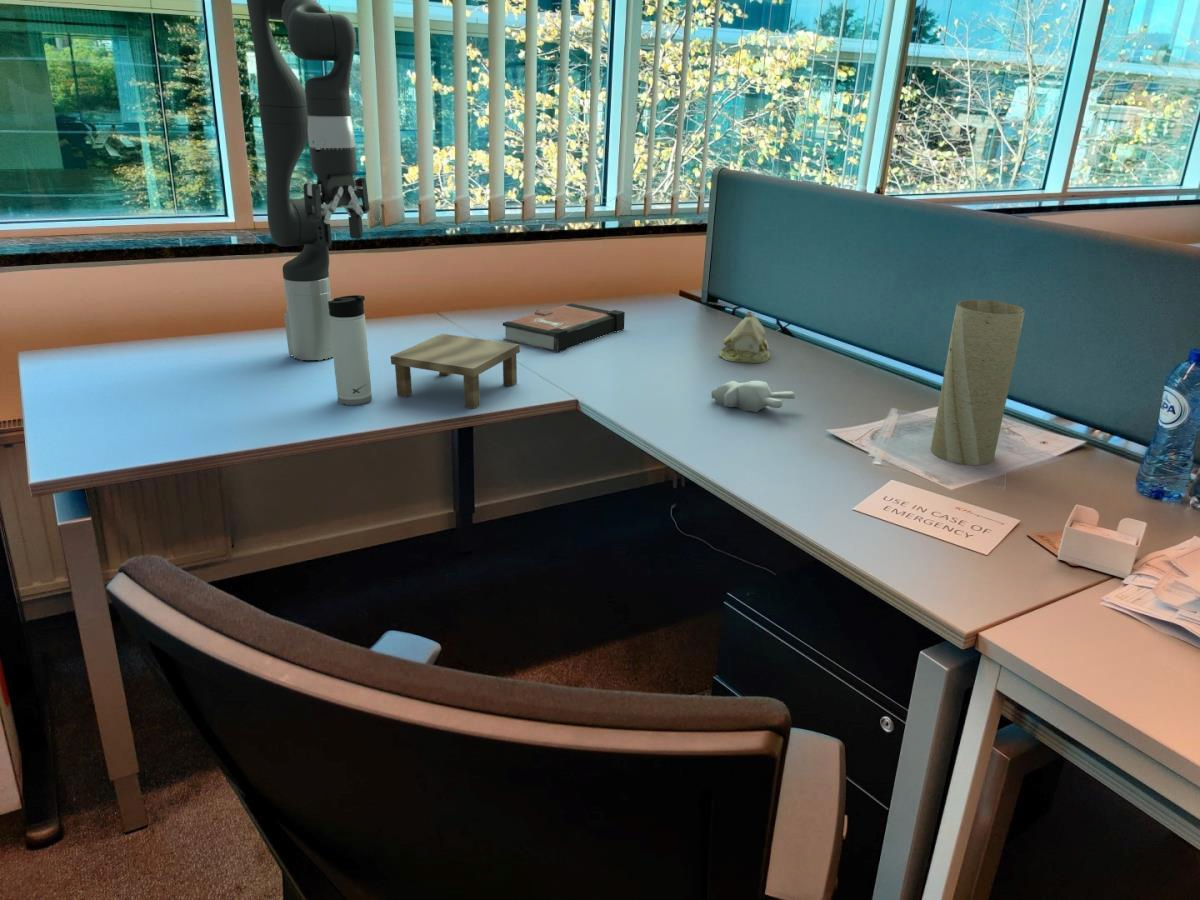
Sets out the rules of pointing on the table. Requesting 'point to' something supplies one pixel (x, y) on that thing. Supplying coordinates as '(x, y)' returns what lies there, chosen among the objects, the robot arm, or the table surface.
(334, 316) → the travel mug
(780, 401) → the bunny figurine
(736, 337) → the ceramic model
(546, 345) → the book
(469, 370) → the footstool
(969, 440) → the tube
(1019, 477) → the table surface
